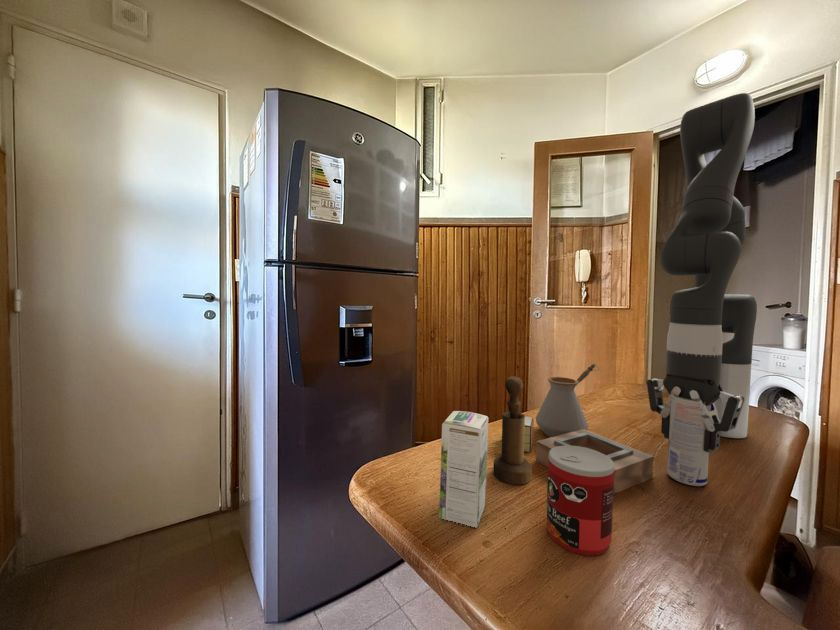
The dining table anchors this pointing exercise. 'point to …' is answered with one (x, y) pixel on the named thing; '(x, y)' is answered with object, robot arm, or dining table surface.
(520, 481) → the mortar and pestle
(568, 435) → the block
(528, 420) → the puzzle toy
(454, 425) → the syrup box
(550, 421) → the coffee pot
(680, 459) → the beverage can
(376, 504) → the dining table surface
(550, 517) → the canned food
